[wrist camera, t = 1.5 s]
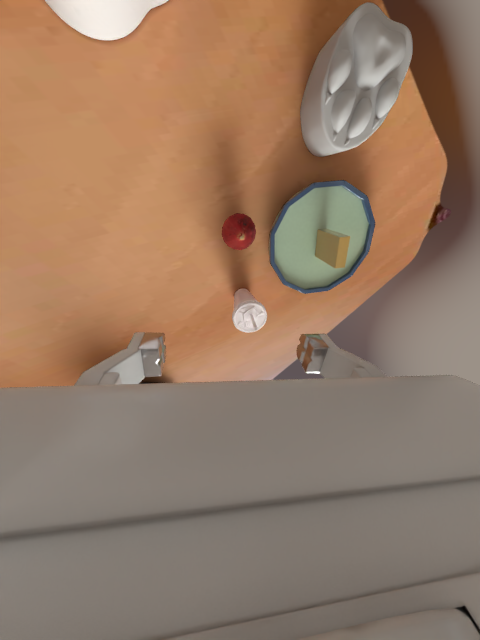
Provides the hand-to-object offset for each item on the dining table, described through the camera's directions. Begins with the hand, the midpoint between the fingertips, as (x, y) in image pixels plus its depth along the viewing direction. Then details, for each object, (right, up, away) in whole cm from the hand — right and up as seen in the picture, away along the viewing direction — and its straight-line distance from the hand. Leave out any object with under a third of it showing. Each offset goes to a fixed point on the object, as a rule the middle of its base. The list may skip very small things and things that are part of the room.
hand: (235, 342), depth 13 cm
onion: (0, +18, +29) cm, 34 cm away
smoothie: (+1, +7, +36) cm, 36 cm away
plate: (+16, +16, +30) cm, 38 cm away
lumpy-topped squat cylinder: (+15, +35, +21) cm, 43 cm away
